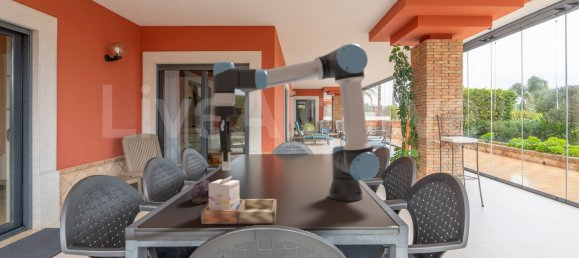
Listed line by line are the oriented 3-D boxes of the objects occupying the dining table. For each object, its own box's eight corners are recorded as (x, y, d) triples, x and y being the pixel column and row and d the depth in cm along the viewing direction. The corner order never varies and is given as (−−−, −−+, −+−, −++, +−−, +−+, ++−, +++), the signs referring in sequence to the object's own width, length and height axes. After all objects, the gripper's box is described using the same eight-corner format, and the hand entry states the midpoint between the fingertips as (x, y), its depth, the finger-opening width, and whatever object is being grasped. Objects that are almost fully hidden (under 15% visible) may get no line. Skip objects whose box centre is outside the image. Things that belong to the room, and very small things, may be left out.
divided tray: (276, 209, 127) (276, 198, 127) (274, 223, 110) (274, 210, 110) (212, 209, 127) (212, 198, 127) (200, 223, 110) (200, 211, 109)
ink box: (220, 209, 123) (219, 174, 123) (240, 211, 121) (239, 175, 121) (208, 216, 115) (207, 178, 115) (229, 218, 113) (229, 179, 112)
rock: (188, 207, 134) (212, 206, 135) (186, 188, 132) (211, 186, 133) (193, 196, 145) (216, 195, 146) (191, 178, 144) (215, 177, 145)
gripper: (218, 106, 125) (219, 167, 125) (210, 105, 112) (212, 173, 112) (237, 106, 125) (239, 167, 126) (232, 104, 112) (233, 172, 113)
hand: (226, 169), depth 119 cm, fingers closed
